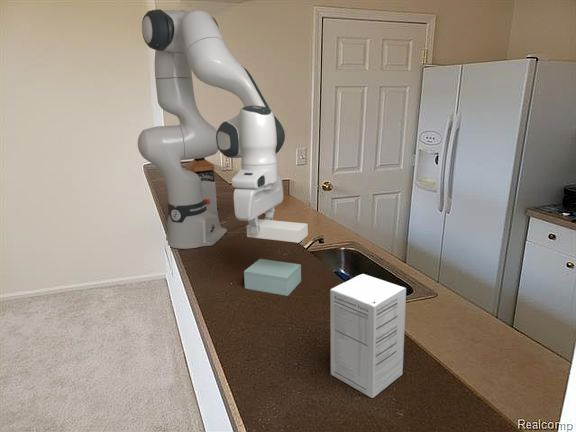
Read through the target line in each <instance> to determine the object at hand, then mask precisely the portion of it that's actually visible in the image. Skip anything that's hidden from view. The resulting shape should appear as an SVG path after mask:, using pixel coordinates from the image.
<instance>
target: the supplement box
mask: <svg viewBox="0 0 576 432" xmlns="http://www.w3.org/2000/svg"><path fill="white" fill-rule="evenodd" d="M329 292H330V293H329V295H330V296H329V298H330V303H329V304H330V305H329V306H330V311H329V313H330V318H329V319H330V375H331V376H333V377H335V378H336V379H338V380H340V381H341V382H343V383H345V384H347V385H348V386H350V387H352V388H354V389H355V390H357V391H359V392H361V393H362V394H364V395H366V396H367V397H368V398H371V399H374V398H375V397H376V396H377V395H379V394H380V393H381V392H382V391H384V390H385V389H386V388H388V386H390V385H391V384H392V383H394V382H395V381H396V380H397V379H399V378H400V377H401V376H402V375H403V373H404V372H403V369H404V350H405V349H404V346H405V326H406V325H405V324H406V323H405V322H406V302H407V301H406V300H407V298H406V297H407V288H406V287H404V286H400V285H398V284H395V283H392V282H389V281H387V280H383V279H381V278H377V277H374V276H371V275H368V274H365V273H362V274H359V275H355V277H352V278H350V279H349V280H347V281H344V282H342V283H340V284H337V285H336V286H334V287H332V288H330V291H329Z"/></svg>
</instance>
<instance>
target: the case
mask: <svg viewBox="0 0 576 432" xmlns="http://www.w3.org/2000/svg"><path fill="white" fill-rule="evenodd" d="M243 278H244V280H243V281H244V289H247V290H251V291H257V292H263V293H267V294H275V295H280V296H286V297H287V296H289V295H290V294H291V293H292V292H293V290H295V289H296V287H298V285H299V284H300V283H301V282H302V264H300V263H294V262H287V261H286V262H285V261H278V260H272V259H265V258H259V259H258V260H256V261H255V262H254V263H253V264H251V265H250V266H248V267H247V268H246V269H244V271H243Z"/></svg>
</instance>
